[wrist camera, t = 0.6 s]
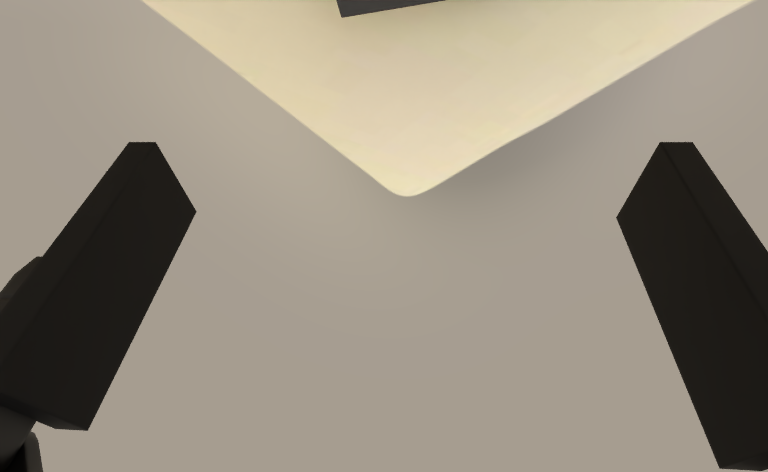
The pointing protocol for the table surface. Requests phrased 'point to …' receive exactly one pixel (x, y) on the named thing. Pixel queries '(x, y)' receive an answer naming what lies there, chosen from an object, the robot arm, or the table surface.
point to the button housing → (374, 5)
